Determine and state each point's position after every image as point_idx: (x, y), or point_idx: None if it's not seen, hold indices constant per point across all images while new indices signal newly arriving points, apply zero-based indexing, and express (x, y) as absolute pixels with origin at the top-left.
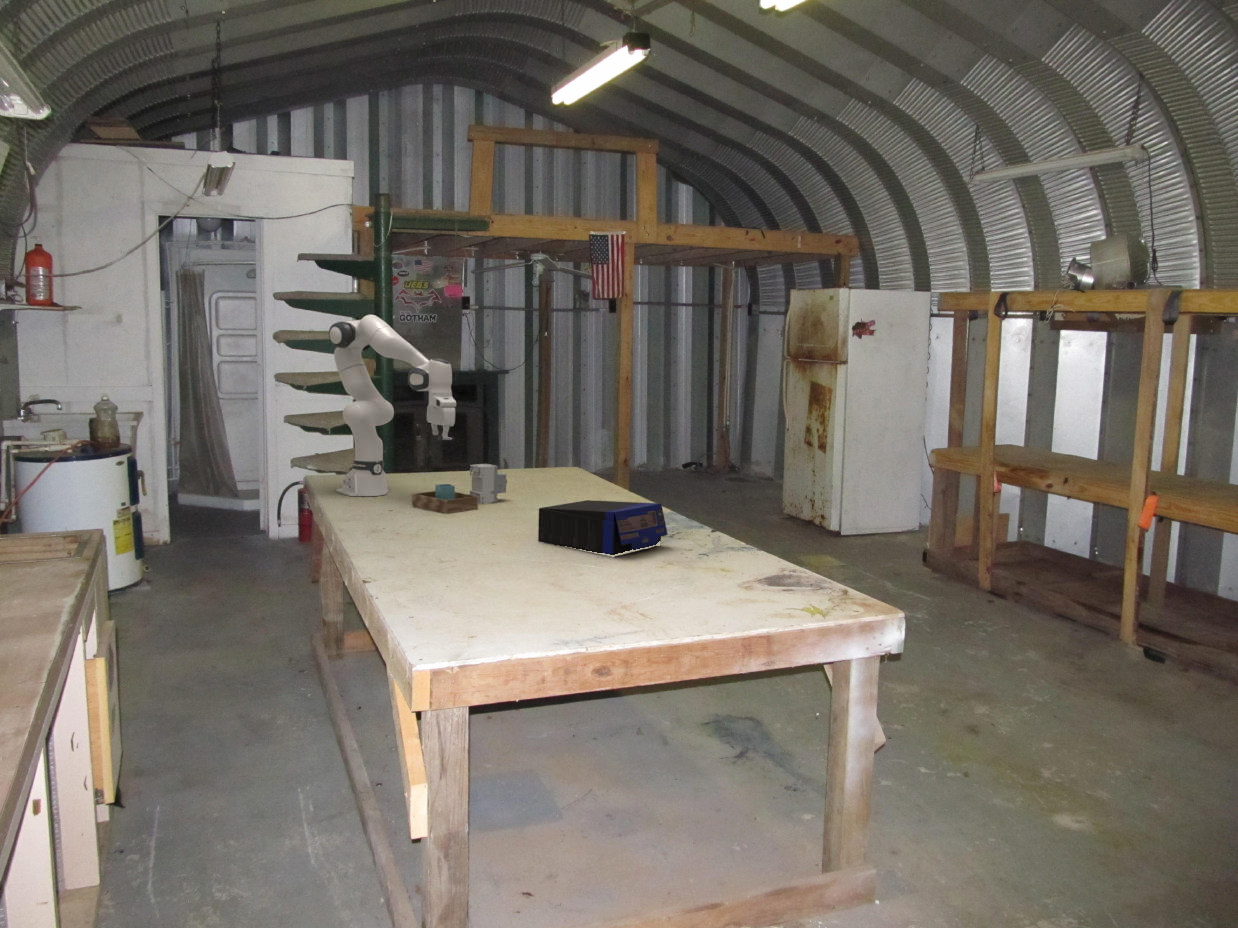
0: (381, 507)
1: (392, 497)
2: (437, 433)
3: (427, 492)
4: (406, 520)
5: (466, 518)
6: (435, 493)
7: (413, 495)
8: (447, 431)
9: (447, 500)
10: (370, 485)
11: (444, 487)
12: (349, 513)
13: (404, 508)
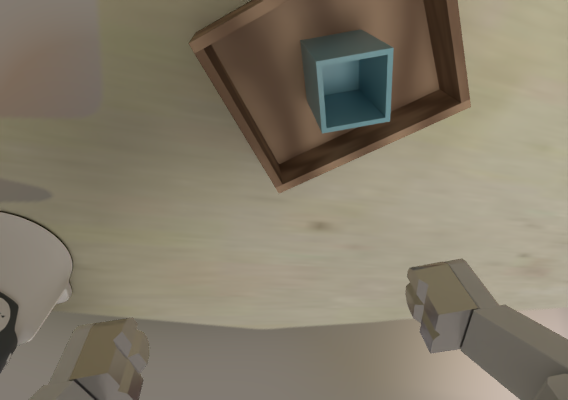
0: (266, 242)
1: (76, 201)
2: (129, 338)
3: (254, 136)
4: (472, 208)
5: (561, 35)
6: (315, 117)
7: (285, 187)
8: (533, 331)
9: (469, 98)
10: (45, 281)
11: (389, 103)
12: (328, 299)
13: (299, 192)
